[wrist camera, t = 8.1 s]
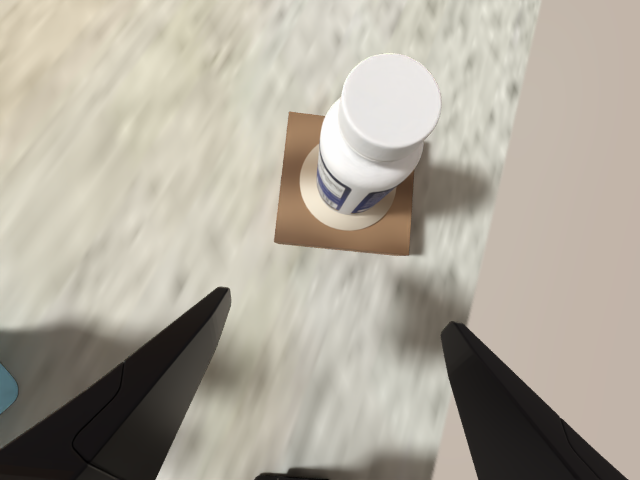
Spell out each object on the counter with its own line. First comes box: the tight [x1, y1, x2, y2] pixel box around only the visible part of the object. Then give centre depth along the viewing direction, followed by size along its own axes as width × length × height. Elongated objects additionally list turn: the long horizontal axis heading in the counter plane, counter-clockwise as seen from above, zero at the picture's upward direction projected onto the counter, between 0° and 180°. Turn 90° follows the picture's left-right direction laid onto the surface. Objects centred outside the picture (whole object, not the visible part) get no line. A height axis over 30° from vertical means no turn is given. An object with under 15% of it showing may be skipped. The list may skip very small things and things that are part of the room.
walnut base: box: [274, 112, 414, 256], centre depth 20 cm, size 11×11×3 cm
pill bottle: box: [316, 53, 442, 215], centre depth 13 cm, size 5×5×10 cm
